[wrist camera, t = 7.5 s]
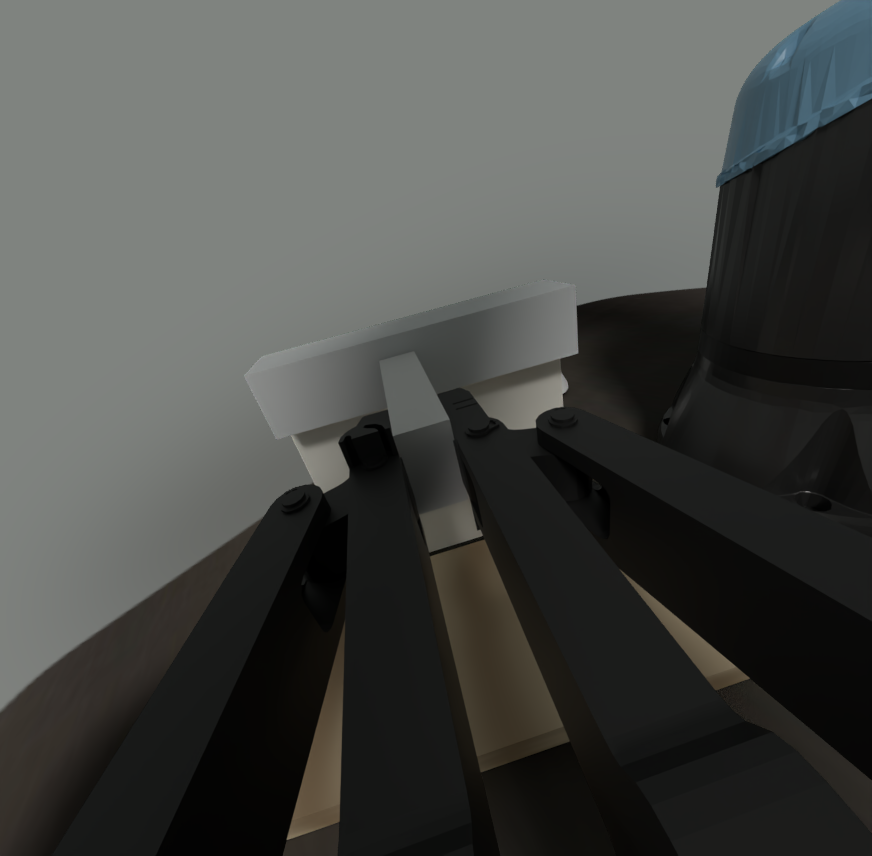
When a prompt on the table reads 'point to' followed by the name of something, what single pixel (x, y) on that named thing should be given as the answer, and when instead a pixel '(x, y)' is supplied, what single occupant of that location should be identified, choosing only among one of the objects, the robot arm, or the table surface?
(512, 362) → the tailgate
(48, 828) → the table surface
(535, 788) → the table surface
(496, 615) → the cart bed
